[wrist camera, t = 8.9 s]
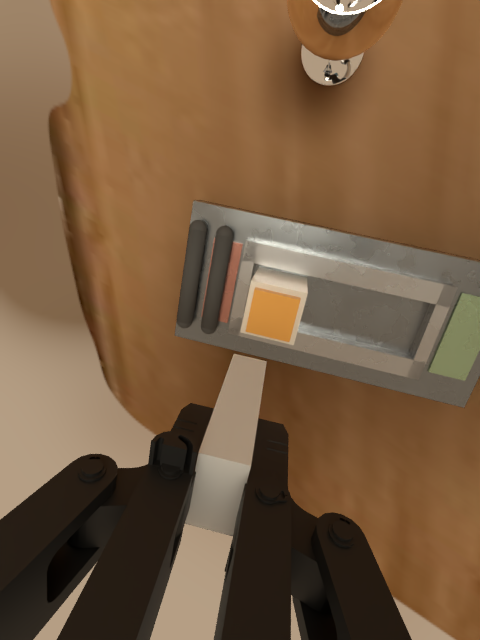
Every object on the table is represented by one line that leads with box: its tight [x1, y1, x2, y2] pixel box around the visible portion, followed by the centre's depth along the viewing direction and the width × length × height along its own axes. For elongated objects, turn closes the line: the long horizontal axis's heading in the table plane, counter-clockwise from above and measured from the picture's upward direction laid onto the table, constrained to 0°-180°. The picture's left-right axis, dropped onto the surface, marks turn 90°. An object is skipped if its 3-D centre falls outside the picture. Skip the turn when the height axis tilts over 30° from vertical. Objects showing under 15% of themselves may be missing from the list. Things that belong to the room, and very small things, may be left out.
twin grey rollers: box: [177, 220, 234, 334], centre depth 31 cm, size 9×4×1 cm, turn 169°
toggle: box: [240, 267, 308, 345], centre depth 28 cm, size 4×4×6 cm
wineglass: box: [287, 0, 403, 86], centre depth 21 cm, size 6×6×12 cm
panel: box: [175, 200, 480, 407], centre depth 31 cm, size 12×26×3 cm, turn 79°
